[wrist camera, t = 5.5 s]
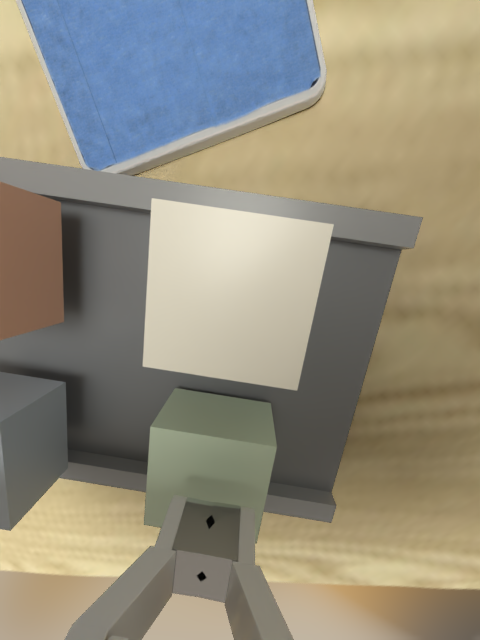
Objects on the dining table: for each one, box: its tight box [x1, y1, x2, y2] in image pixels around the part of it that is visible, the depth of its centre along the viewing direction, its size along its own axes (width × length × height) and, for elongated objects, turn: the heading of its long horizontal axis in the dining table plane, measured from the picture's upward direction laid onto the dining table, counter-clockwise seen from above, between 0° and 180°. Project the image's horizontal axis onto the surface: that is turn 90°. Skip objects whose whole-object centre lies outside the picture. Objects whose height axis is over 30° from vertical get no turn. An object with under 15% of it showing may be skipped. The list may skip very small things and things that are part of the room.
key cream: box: [143, 198, 334, 391], centre depth 8 cm, size 5×5×3 cm
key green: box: [144, 388, 277, 544], centre depth 11 cm, size 5×5×3 cm
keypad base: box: [0, 157, 423, 523], centre depth 13 cm, size 24×16×3 cm, turn 82°
